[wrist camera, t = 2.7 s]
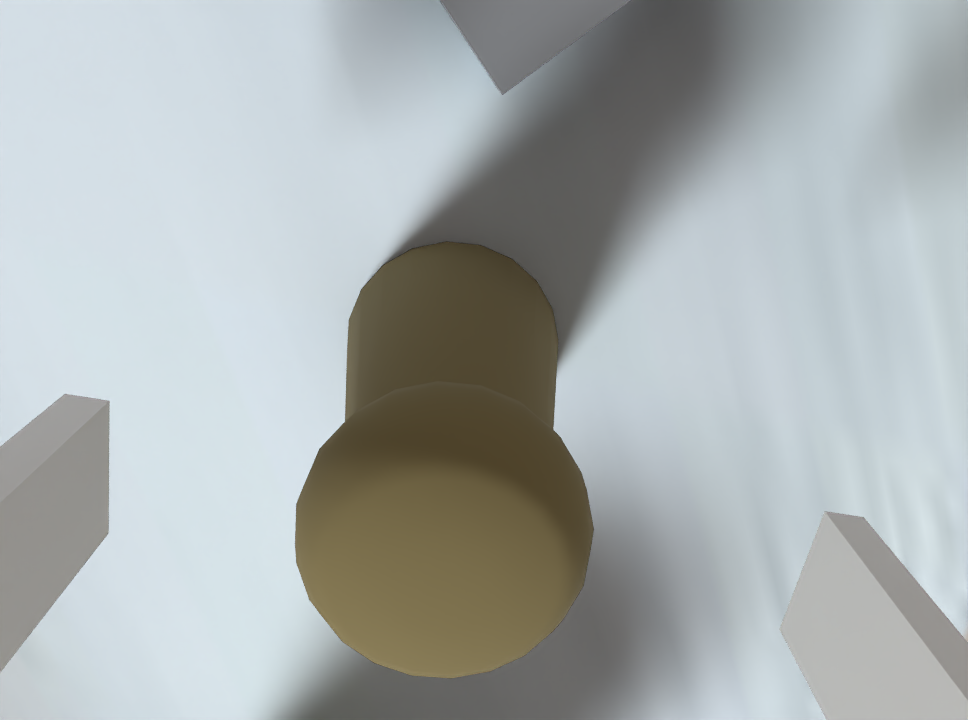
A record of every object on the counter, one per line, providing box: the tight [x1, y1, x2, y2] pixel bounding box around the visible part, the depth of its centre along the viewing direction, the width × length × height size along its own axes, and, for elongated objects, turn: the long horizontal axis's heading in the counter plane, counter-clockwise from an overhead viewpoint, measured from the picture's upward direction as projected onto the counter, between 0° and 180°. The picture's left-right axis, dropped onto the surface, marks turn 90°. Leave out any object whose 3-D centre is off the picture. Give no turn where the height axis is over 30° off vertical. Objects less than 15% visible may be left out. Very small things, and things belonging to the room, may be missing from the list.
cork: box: [295, 242, 594, 678], centre depth 17 cm, size 6×6×11 cm
